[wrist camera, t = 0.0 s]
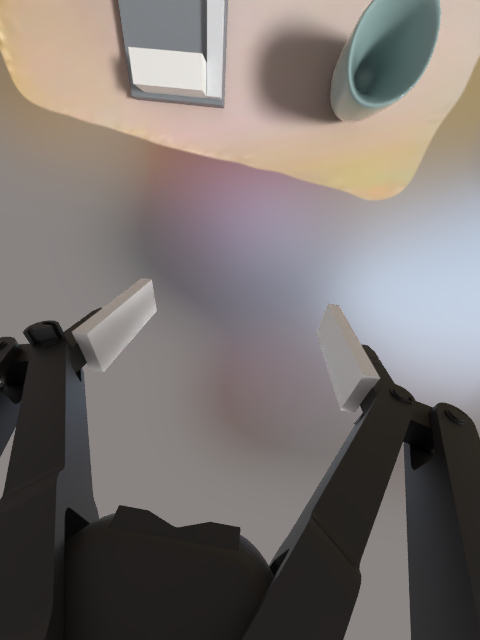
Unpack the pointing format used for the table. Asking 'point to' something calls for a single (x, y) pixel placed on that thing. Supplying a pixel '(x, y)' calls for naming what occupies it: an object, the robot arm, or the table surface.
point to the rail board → (176, 50)
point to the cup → (384, 56)
